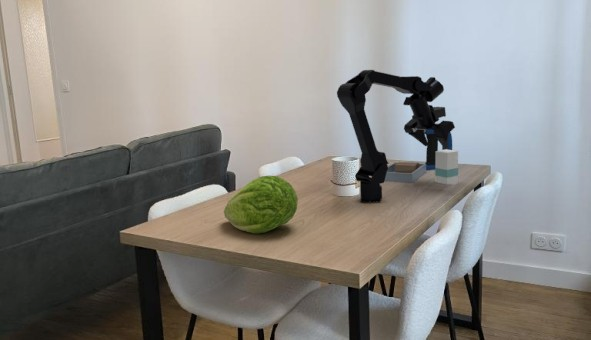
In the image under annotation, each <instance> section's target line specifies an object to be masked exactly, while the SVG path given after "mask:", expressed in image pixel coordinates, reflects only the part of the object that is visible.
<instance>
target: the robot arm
mask: <svg viewBox="0 0 591 340" xmlns="http://www.w3.org/2000/svg"><path fill="white" fill-rule="evenodd" d="M373 84H374V85H377V86H383V87H387V88H388V87H389V88H391V89H392V88H393V89H395V91H397V92H399V93H401V94H404V95H405V94H406V95H409V96H406V97H405V98H404V101H403V106H409V107H410V109H411V112H412V114H413V115H412V116H411V119H410V120H409V121H407V122H406V123H405V124H404V127H403V130H404V132H405V134H408V135H409V136H411V137H413V138H414V139H415V140H416V141H418V142H419V143H421V145H423V146H425V147H427V145H428V143H427V138H426V134H424V130H428V129H429V130H434V133H435V135H436V138H437V140H438V143H440V145H441V147H442V146H443V147H444V148H445V149H447V148H448V134H449V132H452V131H453V130H454V129H455V128H456V126H455V123H454V122H453V121H451V120H441V121H440V118H443V117H444V118H446V117H447V114H446V113H447V112H446V107H445V106H433V105H432V104H429V103H432V102H433V101H435V100H436V99H437V98H438V97H439V96H440V95H442V94H443V93H444V91H445V89H444V85H443V84H442V83H441V82H440V81H439V80H437V79H436V77H435V76H432V77H429V78H428V79H427V80H426V81H423V79H422V77H420V76H417V75H416V76H415V75H414V76H412V75H411V76H400V75H395V74H391V73H385V72H381V71H377V70H375V69H363V70H362V71H360V72H359V73H357V75H355V76H354V77H351V78H350V79H349V80H347V81H346V82H345V83H342V84H341V85H339V87H338V89H337V90H336V97H337V98H338V100H339V103H340V104H341V106H342V107H343V108H344V109H345V111H346V112H347V113H348V115H349V118H350V121H351V124H352V127H353V130H354V132H355V133H354V134H355V136H356V140H357V142H358V145H359V149H360V152H361V156H360V167H359V169H358V170H357V172H356V173H355V174H354V178H355V181H357V182H360V201H359V202H360V203H381V200H383V186H382V184H384V183H385V182H386V181H385V177H386V173H387V170H388V166H389V165H390V163H389V162H388V160H387V156H386V153H385V152H382V151H379V150H378V149H377V146H376V142H375V140H374V136H373V134H372V130H371V127H370V123H369V121H368V117H367V114H366V110H365V106H366V101H367V98H366V94H367V93H369V91H370V90H371V88H372V86H373ZM410 94H411V95H410ZM438 121H440V122H438ZM435 123H439V124H435Z"/></svg>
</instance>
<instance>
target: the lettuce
mask: <svg viewBox="0 0 591 340" xmlns="http://www.w3.org/2000/svg"><path fill="white" fill-rule="evenodd" d="M298 199H299V198H298V196H297V192H296V190H295V188H294V187H293V186H292V184H291V183H290V182H288V181H287V180H286V179H284V178H282V177H280V176H277V175H262V176H259V177H257V178H255V179H253V180H250V181H249V182H248V183H247V184H246V185H245V186H244V187H243V188H241V189H240V190H238V191H237V192H236V193H235V194H234V195H233V196H231V197H230V198H229V200H228V202H227V204H226V205H225V206H224V209H223V214H224V218H226V219H227V221H228V222H229V223H230V224H231V225H232V226H233V227H234V228H236V229H238V230H240V231H243V232H245V231H246V233H250V232H251V234H255V233H257V234H263V233H267V232H270V231H271V230H274V229H275V228H278V227H281V226H283V225H286V224H287V223H288V222H290V221H291V220H292V219H293V217H294V216H295V213H296V212H297V208H298Z"/></svg>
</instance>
